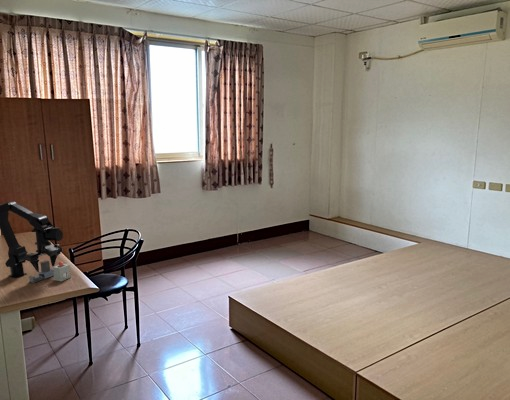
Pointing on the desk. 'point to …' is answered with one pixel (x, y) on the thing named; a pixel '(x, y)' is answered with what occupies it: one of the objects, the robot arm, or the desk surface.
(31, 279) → the rail
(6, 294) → the desk surface
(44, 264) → the carriage
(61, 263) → the button
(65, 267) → the cabinet
